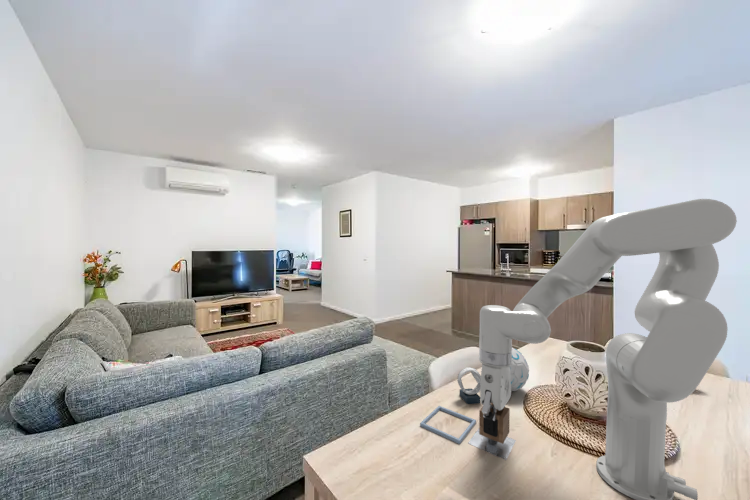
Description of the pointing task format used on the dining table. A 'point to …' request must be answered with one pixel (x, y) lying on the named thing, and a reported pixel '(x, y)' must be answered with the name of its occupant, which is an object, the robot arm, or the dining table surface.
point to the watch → (470, 394)
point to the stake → (493, 445)
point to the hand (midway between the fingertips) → (494, 427)
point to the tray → (424, 425)
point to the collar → (502, 424)
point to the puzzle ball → (518, 370)
